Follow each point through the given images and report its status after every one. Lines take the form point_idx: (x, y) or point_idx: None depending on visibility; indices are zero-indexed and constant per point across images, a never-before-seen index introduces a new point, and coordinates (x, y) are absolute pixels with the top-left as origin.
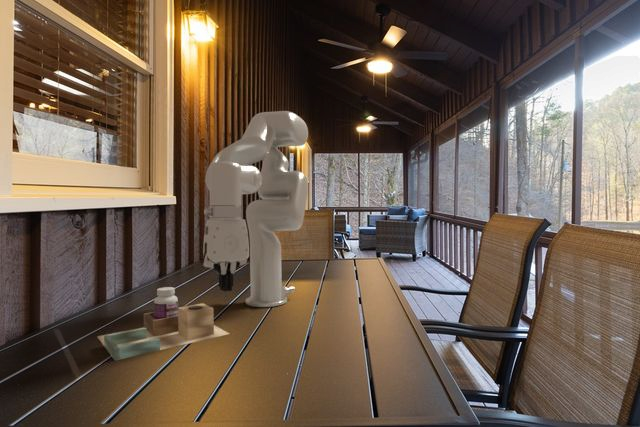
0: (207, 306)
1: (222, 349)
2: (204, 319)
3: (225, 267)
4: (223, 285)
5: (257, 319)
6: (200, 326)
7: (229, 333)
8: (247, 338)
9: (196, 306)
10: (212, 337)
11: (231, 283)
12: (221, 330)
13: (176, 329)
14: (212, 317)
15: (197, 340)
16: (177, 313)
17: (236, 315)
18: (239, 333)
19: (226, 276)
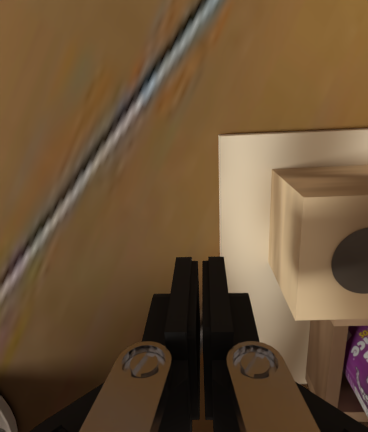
0: (308, 251)
1: (305, 13)
2: (336, 182)
3: (239, 406)
4: (234, 295)
5: (44, 265)
6: (344, 176)
7: (219, 140)
8: (169, 76)
9: (354, 279)
10: (293, 136)
11: (177, 279)
12: (228, 194)
13: None
14: (296, 184)
15: (353, 138)
16: (363, 350)
17: (94, 349)
18: (169, 154)
19: (226, 318)
